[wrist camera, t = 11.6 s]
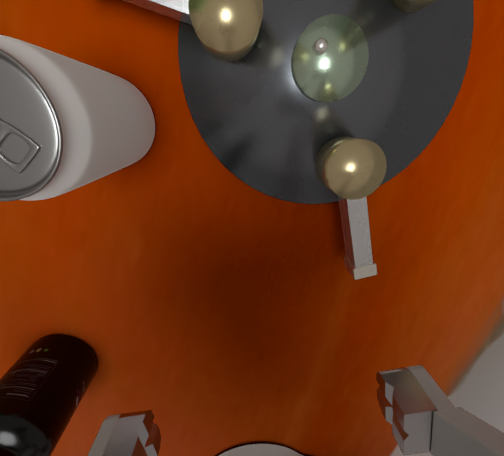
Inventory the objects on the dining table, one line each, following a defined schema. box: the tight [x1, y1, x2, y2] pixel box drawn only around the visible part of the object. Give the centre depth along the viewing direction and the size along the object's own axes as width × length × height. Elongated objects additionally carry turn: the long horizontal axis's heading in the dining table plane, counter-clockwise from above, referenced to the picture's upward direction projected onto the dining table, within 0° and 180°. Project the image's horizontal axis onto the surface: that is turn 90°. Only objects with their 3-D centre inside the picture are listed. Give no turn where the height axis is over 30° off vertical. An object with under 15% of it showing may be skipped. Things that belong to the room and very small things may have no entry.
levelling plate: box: [178, 0, 473, 204], centre depth 19 cm, size 20×20×3 cm
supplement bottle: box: [0, 335, 97, 456], centre depth 23 cm, size 7×7×12 cm
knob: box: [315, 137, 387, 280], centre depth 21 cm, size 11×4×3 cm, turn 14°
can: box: [0, 35, 155, 201], centre depth 16 cm, size 6×6×12 cm
